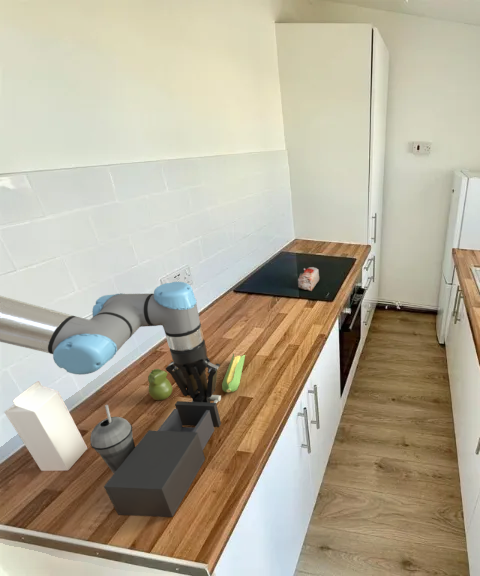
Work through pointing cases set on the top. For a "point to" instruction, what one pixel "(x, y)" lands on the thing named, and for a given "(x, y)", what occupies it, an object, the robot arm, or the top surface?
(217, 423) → the drawer
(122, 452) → the beverage cup
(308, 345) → the top surface
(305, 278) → the food item
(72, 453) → the milk
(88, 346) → the robot arm
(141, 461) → the cabinet
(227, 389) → the edible corn
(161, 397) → the pear
